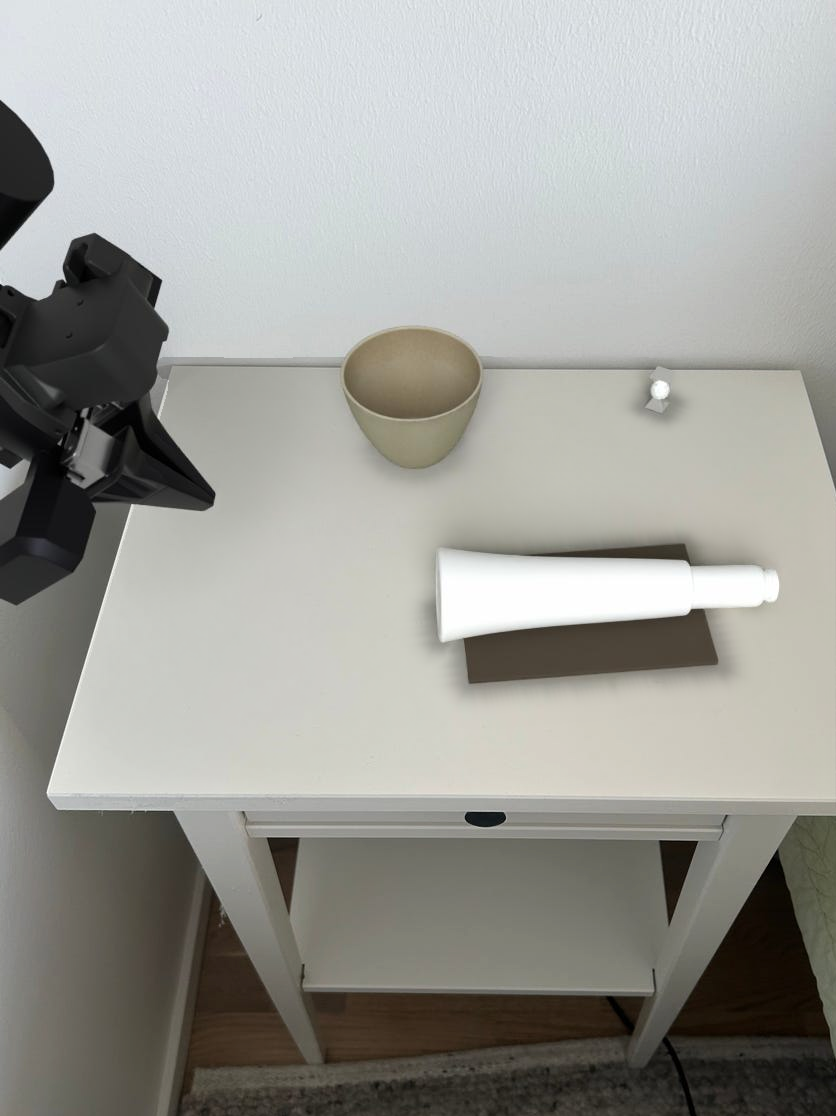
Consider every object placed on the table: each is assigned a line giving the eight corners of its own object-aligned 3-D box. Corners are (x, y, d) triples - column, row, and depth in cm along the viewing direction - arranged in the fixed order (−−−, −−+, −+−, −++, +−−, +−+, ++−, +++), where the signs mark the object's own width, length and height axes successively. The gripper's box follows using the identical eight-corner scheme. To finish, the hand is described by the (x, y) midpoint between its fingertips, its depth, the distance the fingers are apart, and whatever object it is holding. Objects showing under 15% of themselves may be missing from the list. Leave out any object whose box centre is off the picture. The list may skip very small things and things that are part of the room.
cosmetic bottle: (439, 660, 65) (770, 648, 67) (442, 607, 59) (800, 596, 62) (434, 584, 68) (749, 575, 70) (436, 527, 63) (776, 519, 65)
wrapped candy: (669, 402, 79) (676, 371, 76) (662, 413, 78) (668, 383, 76) (652, 396, 79) (657, 365, 77) (644, 407, 79) (650, 376, 76)
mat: (469, 684, 63) (469, 680, 63) (455, 563, 69) (455, 559, 69) (717, 664, 64) (718, 661, 64) (683, 547, 70) (684, 543, 70)
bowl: (323, 462, 75) (311, 386, 69) (397, 386, 80) (391, 309, 74) (437, 513, 72) (434, 438, 66) (506, 430, 77) (509, 354, 71)
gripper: (-53, 423, 36) (281, 605, 46) (74, 101, 45) (330, 314, 55) (-174, 527, 42) (142, 667, 53) (-42, 228, 51) (206, 397, 62)
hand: (210, 503), depth 55 cm, fingers closed
